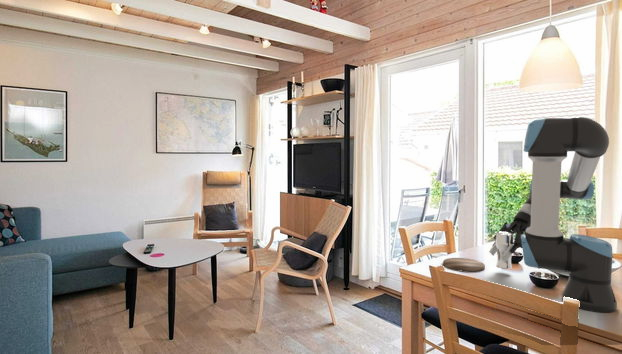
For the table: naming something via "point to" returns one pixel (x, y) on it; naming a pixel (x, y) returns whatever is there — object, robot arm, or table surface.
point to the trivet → (464, 264)
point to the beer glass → (503, 249)
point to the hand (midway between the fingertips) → (498, 255)
